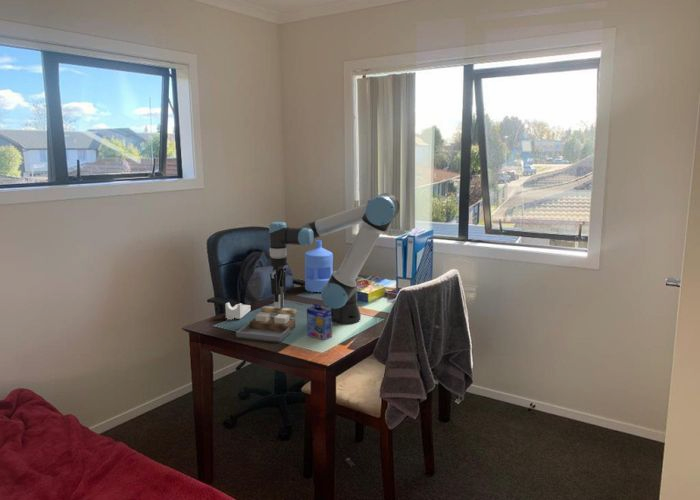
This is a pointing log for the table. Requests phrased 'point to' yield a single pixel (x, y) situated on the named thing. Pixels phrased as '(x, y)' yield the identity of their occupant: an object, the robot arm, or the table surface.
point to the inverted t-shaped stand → (282, 310)
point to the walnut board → (272, 325)
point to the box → (262, 334)
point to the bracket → (236, 310)
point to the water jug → (318, 268)
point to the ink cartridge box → (319, 322)
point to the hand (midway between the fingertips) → (278, 307)
